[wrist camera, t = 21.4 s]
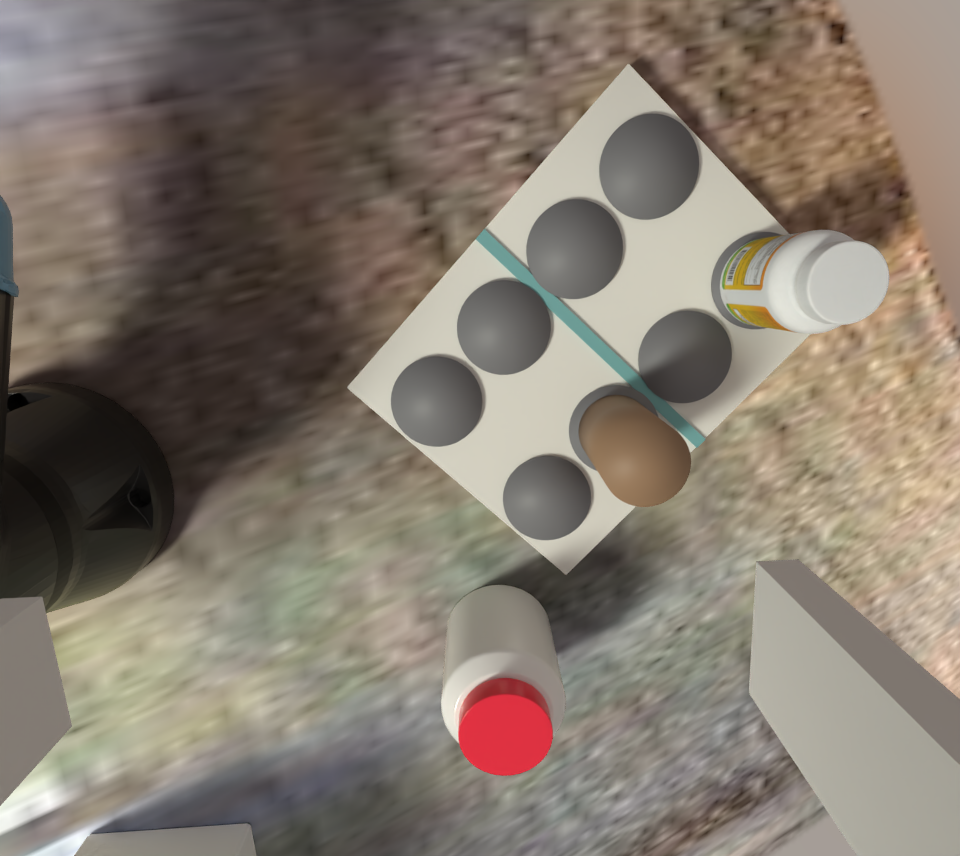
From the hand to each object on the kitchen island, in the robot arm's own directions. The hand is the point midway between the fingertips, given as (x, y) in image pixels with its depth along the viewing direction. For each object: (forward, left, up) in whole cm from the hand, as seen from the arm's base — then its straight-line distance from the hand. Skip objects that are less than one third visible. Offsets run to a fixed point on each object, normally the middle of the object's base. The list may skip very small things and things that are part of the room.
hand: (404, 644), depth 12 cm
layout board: (+8, -5, -32) cm, 33 cm away
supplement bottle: (+18, -10, -30) cm, 37 cm away
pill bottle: (-12, -15, -32) cm, 37 cm away
